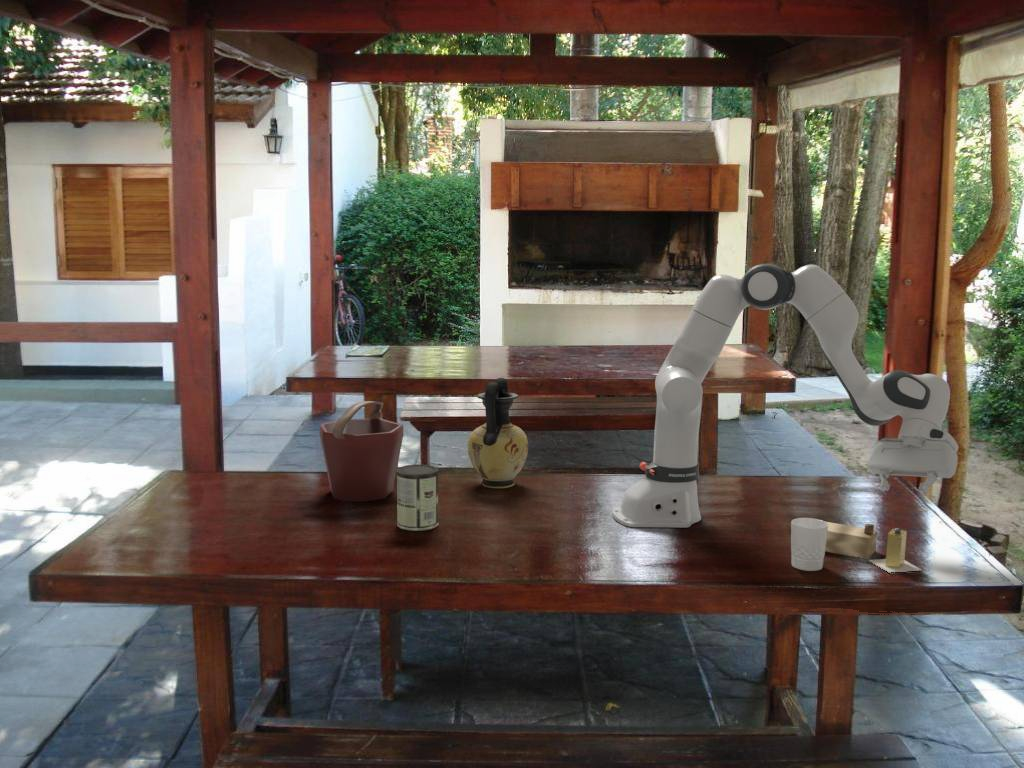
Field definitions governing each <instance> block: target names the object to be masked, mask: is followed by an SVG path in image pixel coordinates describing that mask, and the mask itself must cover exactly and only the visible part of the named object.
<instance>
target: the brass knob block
mask: <svg viewBox="0 0 1024 768" xmlns="http://www.w3.org/2000/svg"><path fill="white" fill-rule="evenodd" d="M907 531H908V530H903V529H902V528H900V527H894V528H892V529H891V530H890V531H889V532H887V540H886V541H887V542H886V553H885V559H886V564H885V566H887V567H892V568H897V569H900V568H901V566H902V565H903V564H904V560H905V559H906V558H905V556H906V549H907V548H906V545H907V534H908V533H907Z"/></svg>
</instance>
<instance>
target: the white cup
mask: <svg viewBox="0 0 1024 768" xmlns="http://www.w3.org/2000/svg"><path fill="white" fill-rule="evenodd" d="M790 522H791V523H790V524H791V525H790V528H791V529H790V552H791V560H790V561H791V564H790V565H791V566H792V567H793V568H795V569H798V570H800V571H806V572H816V571H820V570H822V569H823V567H824V560H825V559H824V557H825V554H826V551H825V549H826V541H827V532H828V523H826V522H827V521H824V520H822V519H817V518H813V517H812V518H811V517H797V518H794V519H792V520H791V521H790Z"/></svg>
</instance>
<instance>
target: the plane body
mask: <svg viewBox="0 0 1024 768" xmlns="http://www.w3.org/2000/svg"><path fill="white" fill-rule="evenodd" d="M825 522H826V523H828V532H827V541H826V549H825V553H826V552H827V553H832V554H838V555H841V556H842V555H843V556H848V557H853V556H854V558H858V557H860V558H859V559H863V558H865V559H864V560H869V558H870V557H872V555H873V554H874V553H876V551H877V550H876V549H877V539H878V538H877V536H878V530H876V529H875V525H874V524H871V523H865V524H864V527H860V526H853V525H847V524H843V523H842V524H841V523H836V522H835V523H834V522H830V521H825Z"/></svg>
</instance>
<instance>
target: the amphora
mask: <svg viewBox="0 0 1024 768" xmlns="http://www.w3.org/2000/svg"><path fill="white" fill-rule="evenodd" d="M508 386H509V383H508V381H507V379H506V378H505V377H498V378H496V379H495V382H494V381H492V382H491V381H490V382H489V383H488V384H487V385H486V388H485V392H482V393H477V396H476V397H477V398H478V399H480V400H482V401H481V402H482V406H483V407H484V408H485V423H484V424H482V425H480V426H478V427H476V428H475V429H473V431H472V432H471V434H470V435H469V438H468V442H467V451H468V456H469V460H470V462H471V465H472V467H473V469H474V471H476V473H477V474H478V475H479V476H480V477H481V478H482V482H481V484H482V486H484V487H485V488H489V489H507V488H512V487H514V486H515V485H516V484H515V481H514V478H516V476H517V475H518V474H520V472H521V470H522V469H523V468H524V464H525V463H526V460H527V457H528V452H529V440H528V437H527V434H526V433H525V431H524V430H522V428H520V427H519V426H517V425H515V424H513V423H512V422H511V420H510V409H511V407H512V406H513V404H514V400H516V399H518V398H519V395H518V394H517V393H515V392H509V387H508Z"/></svg>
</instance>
